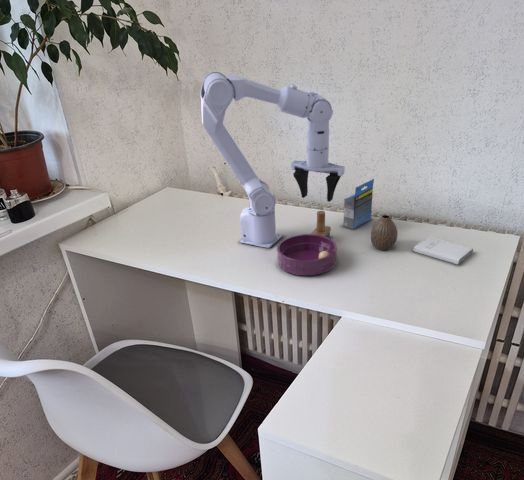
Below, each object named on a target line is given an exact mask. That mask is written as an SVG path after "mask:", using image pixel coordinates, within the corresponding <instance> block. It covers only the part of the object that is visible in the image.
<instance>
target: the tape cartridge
mask: <svg viewBox="0 0 524 480" xmlns="http://www.w3.org/2000/svg"><path fill="white" fill-rule="evenodd" d="M374 181H375V178H373V179H370V180H369V181H366V182H365V183H362V184H360V185H359V186H356V187H355V189H354V194H352V195H350V196H348V197H346V198H344V201H343V204H344V205H343V227H344V228H347V229H351V230H355V229H357V228H358V227H359V226H362V225H363V224H365V223H366V222H368V221H370V220H372V208H373V191H374V190H373V189H374V183H375V182H374Z"/></svg>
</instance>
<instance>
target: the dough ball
mask: <svg viewBox="0 0 524 480" xmlns="http://www.w3.org/2000/svg"><path fill="white" fill-rule="evenodd" d="M328 255H329V253H328V252H327V251H322V252H321V253H320V254H319V259H320V258H323V257H326V256H328Z"/></svg>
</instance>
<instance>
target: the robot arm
mask: <svg viewBox="0 0 524 480" xmlns="http://www.w3.org/2000/svg"><path fill="white" fill-rule="evenodd" d="M199 92H200V109H201V110H200V113H201V124H202V126H203V128H204V130H205V132H206V134H207V135H208V137H209V138H210V139H211V142H213V144H214V145H215V146H216V148H217V150H218V152H219V153H220V155H221V156H222V158H223V159H224V160H225V162H226V163H227V165H228V167H229V168H230V169H231V170H232V173H233V174H234V175H235V177H236V178H237V180H238V181H239V183H240V184H241V186H242V187H243V189H244V190H245V192H246V196H247V199H248V200H249V202H250V203H249V207H244V208H243V209H242V211H241V213H240V217H239V227H240V237H241V239H240V241H239V242H240V243H241V244H245V245H251V246H256V247H261V248H266V249H270V248H271V247H272V246H274V245H275V244H276V243H277V242H278V241H279V240H280V239H281V238H283V235H282V234H278V233H277V229H276V228H277V227H276V208H275V207H276V198H275V196H274V195H273V194H272V191H271V190H270V187H269V185H268V184H267V182H265V181H263V180H262V179H260V178H259V176H258V175H257V173H256V172H255V171H254V169H253V167H252V166H251V164H250V162H249V161H248V159H247V158H246V156H245V155H244V153H243V151H242V150H241V149H240V147H239V145H238V144H237V143H236V141H235V139H234V138H233V136H232V134H231V133H230V131H229V130H228V127H226V125H225V123H224V120H225V116H226V115H225V114H226V111H227V109H228V108H229V107H230V105H231V103H232V101H233V100H234V101H235V102H238V101H240V100H242V99H244V98H250V99H254V100H259V101H261V102H262V101H263V102H265V103H270V104H274V105H276V107H277V109H278V111H279V112H280V113H285V114H287V115H291V116H294V117H298V118H302V119H306V160H293V161H292V162H291V168H290V169H291V171H294V172H293V173H292V175H293V176H292V177H293V178H294V179H295V181H296V183H297V185H298V188H299V191H300V196H301V198H303V199H305V198H306V197H307V196H308V193H309V192H308V190H309V189H308V187H309V186H308V183H309V182H308V181H309V174H310V172H315V173H321V174H322V173H323V174H327V176H326V177H325V182H326V190H327V191H326V192H327V193H326V201H327V202H329V203H330V202H332V201H333V199H334V194H335V191H336V188H337V185H338V183H339V181H340V179H341V177H342V176H344V174H345V166H344V165H339V164H335V163H332V162H330V161H329V153H330V151H329V150H330V120H331V119H332V117H333V114H334V110H333V108H332V105H331V102H330V101H329V100H328V99H326V98H325V97H324V96H322V95H320V94H318V93H316V92H314V91H311V90H310V92H307V91H304V90H300V89H298V87H297V86H296V85H294V84H290V86H289V85H285V86H283V87H281V88H279V89H278V88H274V87H272V86H269V85H266V84H263V83H260V82H258V81H254V80H253V79H249V78H246V77H244V76H239V75H236V74H231V73H225V74H223V73H222V72H221V71H211V72H209V73H208V74H206V76H205V77H204V79H203V81H202V85H201V88H200V91H199Z"/></svg>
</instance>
